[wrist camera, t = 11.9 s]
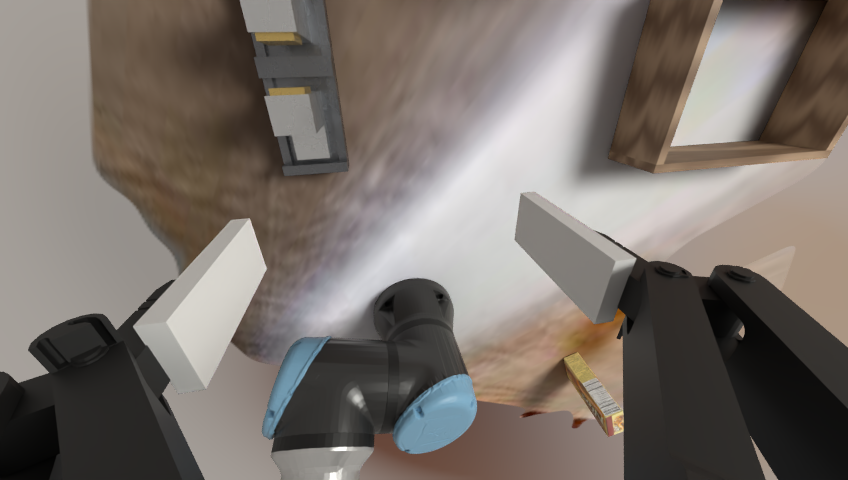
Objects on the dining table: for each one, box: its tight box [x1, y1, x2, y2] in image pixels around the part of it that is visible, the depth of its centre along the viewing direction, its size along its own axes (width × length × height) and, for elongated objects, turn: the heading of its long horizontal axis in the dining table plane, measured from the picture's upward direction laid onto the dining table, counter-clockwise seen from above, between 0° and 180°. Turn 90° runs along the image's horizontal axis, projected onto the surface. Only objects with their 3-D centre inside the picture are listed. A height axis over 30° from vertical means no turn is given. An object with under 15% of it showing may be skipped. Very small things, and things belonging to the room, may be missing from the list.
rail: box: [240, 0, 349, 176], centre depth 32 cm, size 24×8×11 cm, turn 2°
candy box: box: [564, 352, 624, 437], centre depth 70 cm, size 9×4×15 cm, turn 23°
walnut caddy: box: [608, 0, 848, 173], centre depth 43 cm, size 22×31×9 cm
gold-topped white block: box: [264, 86, 331, 160], centre depth 34 cm, size 8×4×9 cm, turn 2°
